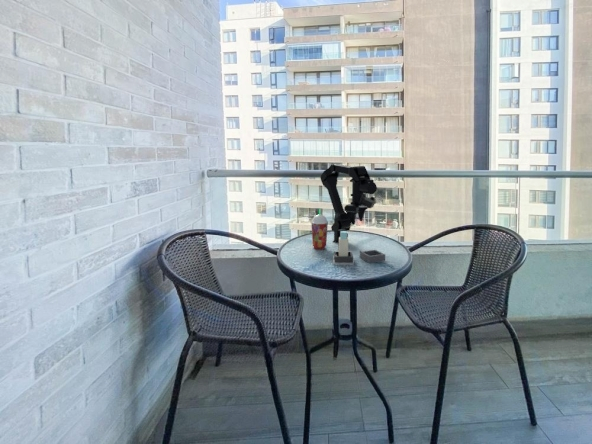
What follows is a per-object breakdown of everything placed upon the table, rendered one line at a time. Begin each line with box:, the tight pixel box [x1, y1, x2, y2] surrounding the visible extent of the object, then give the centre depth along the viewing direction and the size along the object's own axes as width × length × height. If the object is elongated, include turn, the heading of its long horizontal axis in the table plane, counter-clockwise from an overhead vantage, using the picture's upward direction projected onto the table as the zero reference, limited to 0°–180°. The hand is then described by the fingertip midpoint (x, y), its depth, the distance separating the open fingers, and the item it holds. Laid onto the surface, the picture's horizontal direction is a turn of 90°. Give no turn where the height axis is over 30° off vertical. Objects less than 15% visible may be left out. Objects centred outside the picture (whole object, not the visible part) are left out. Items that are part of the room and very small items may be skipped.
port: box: [332, 251, 355, 266], centre depth 185 cm, size 9×9×4 cm
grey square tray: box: [359, 249, 386, 264], centre depth 188 cm, size 8×8×3 cm
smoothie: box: [310, 208, 329, 250], centre depth 205 cm, size 8×8×20 cm
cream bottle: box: [338, 230, 349, 256], centre depth 183 cm, size 4×4×13 cm
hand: (357, 222), depth 204 cm, fingers open, 9 cm apart
